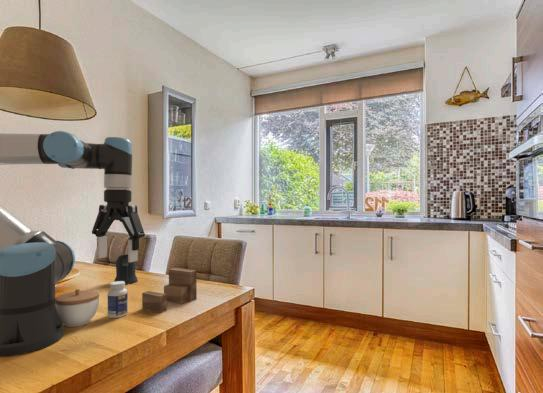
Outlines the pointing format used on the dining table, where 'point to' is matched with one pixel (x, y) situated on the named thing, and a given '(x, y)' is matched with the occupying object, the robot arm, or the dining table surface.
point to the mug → (125, 270)
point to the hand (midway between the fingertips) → (117, 259)
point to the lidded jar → (77, 307)
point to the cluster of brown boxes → (172, 291)
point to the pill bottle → (117, 300)
